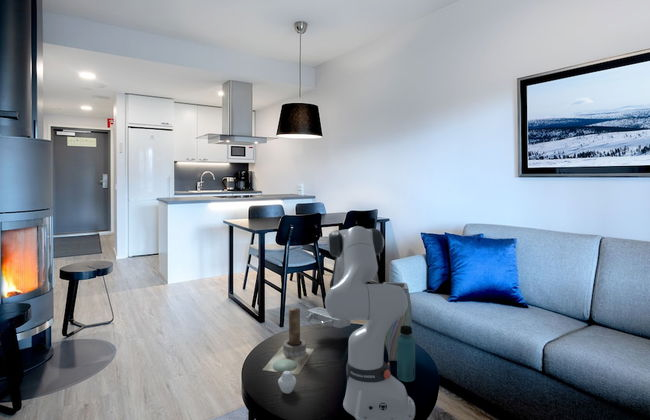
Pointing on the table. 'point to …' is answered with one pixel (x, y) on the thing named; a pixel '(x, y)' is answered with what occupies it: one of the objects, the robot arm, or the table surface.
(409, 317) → the vase
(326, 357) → the table surface
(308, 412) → the table surface
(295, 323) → the walnut peg
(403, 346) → the beverage bottle
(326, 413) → the table surface
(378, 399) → the robot arm
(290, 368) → the sage pad
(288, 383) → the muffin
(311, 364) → the table surface
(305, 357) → the birch board
